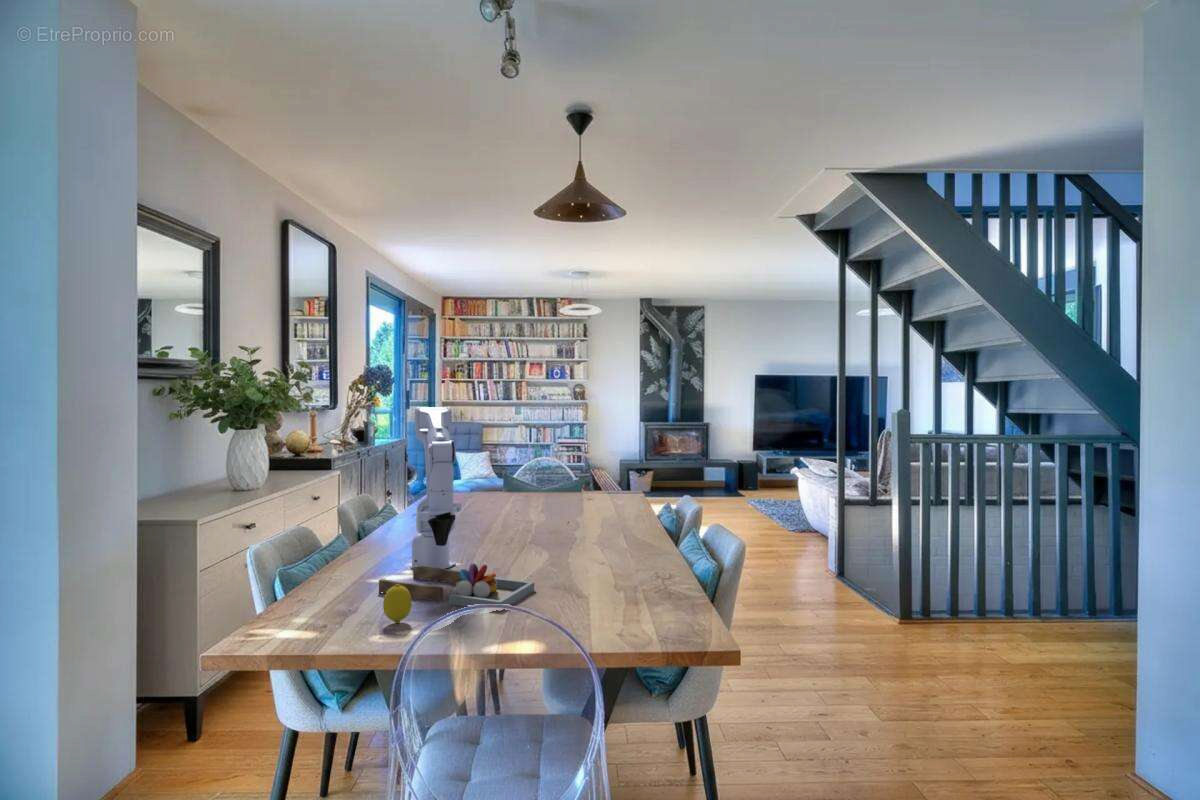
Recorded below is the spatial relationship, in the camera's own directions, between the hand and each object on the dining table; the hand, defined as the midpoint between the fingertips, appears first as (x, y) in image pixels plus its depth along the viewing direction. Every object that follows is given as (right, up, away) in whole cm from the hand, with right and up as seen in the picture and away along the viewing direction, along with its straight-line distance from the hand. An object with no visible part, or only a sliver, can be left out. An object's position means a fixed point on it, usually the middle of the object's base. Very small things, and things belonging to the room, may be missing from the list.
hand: (441, 545), depth 163 cm
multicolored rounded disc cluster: (+10, -10, -9) cm, 17 cm away
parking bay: (+14, -10, -11) cm, 20 cm away
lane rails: (-2, -9, -4) cm, 11 cm away
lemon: (-2, -10, -28) cm, 30 cm away
